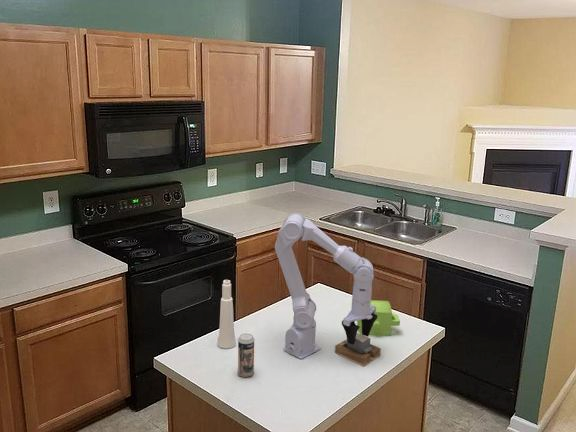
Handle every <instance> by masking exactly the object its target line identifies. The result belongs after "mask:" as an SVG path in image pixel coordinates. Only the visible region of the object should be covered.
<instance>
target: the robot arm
mask: <svg viewBox="0 0 576 432" xmlns="http://www.w3.org/2000/svg"><path fill="white" fill-rule="evenodd" d="M301 237H302V238H301ZM300 238H301V241H302V242H305V241H312V242H314V243H315V244H317V245H318V246H320V247H321V248H323V250H325V251H327V252H328V253H329V254H331V255H332V256H333V262H335V263H337V264H338V265H340V267H342V268H343V269H344V270H346V271H347V272H348V273H350V274H352V275H353V279H354V282H353V285H352V296H351V297H352V298H351V310H350V312H348V314H347V315H346V316H345V317H344V318H343V320H341V326H342V327H343V329H344V332H345V335H346V339H347V341H348V343H350V344H352V345H353V344H354V343H355V339H356V334H357V333H358V332H359V330H358V329H359V327H360V326H357V324H356V322H357V320H361V321H362V335H364V336H366V337H368V338H369V336H370V335H369V334H370V331H371V328H372V326H373V324H374V322H375V320H376V319H377V315H376V314H374V313H375V312H376V306H373V305H370V304H371V300H372V292H373V291H372V290H373V286H372V284H373V280H374V279H375V275H374V267H373V264H372V262H370V260H369V259H367V258H365V257H363V256H362V257H361V256H360V255H358V254H357V253H356V252H354V250H353V249H354V248H353V247H352V246H347V245H339V243H337V242H335V241H334V240H333V239H332V238H331V237H329V236H328V235H327V234H326V233H325V232H324V231H323V230H321V229H320V228H319V227H318V226H317V225H316V224H315V223H314V222H312V221H311V220H310V219H309V218H305V217H304V215H303V214H301V213H299V212H293V213H290V214H289V215H287V217H286V218H285V220H284V221H283V223H282V225H281V226H280V228H279V230H278V234H277V238H276V240H275V244H274V251H275V253H276V256H277V259H278V262H279V265H280V268H281V271H282V274H283V277H284V279H285V282H286V286H287V288H288V291H289V293H290V294H289V295H290V297H291V302H292V303H291V304H292V311H293V318H292V319H293V323H292V325H291V327H290V328H288V329H287V330H286V332H285V345H284V347H283V351H284V352H286V353H288V354H290V355H292V356H294V357H296V358H297V359H300V360H302V359H304V358H306V357H308V356H311V355H312V354H313V353H316V352H317V351H320V350H321V346H318V345H316V331H317V321H316V319H315V314H316V311H317V304H316V303H315V302H314V300H313V299H312V298H311V296H310V294H309V293H308V291H307V290H306V286H305V283H304V281H303V277H302V274H301V272H300V269H299V268H300V267H299V265H298V262H297V259H296V257H295V256H296V255H295V253H294V251H293V246H294V244H295V242H297V241H299V239H300Z"/></svg>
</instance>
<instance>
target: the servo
mask: <svg viewBox="0 0 576 432" xmlns="http://www.w3.org/2000/svg"><path fill="white" fill-rule="evenodd" d="M345 340H346V339H345ZM345 340H344V341H345ZM345 344H347V348H348V349H350V350H353V351H355V352H357V353H359V354H361V355H364V354H365V353H368V354H369V351H371V350H372V347H370V344H371V338H370V337H369V336H368V337H367V336H365V335H361V334H360V333H359V332H357V334H356V339H355V343H354V344H353V345H352V344H350V343H348V341H347V340H346V341H345Z"/></svg>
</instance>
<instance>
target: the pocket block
mask: <svg viewBox="0 0 576 432" xmlns="http://www.w3.org/2000/svg"><path fill="white" fill-rule="evenodd" d="M346 340H347V338H346V339H344V340H343V341H341V342H339V343H336V344H335V346H334V347H335V348H334V353H335V354H336V355H338V356H341V357H343V358H345V359H347V360H349V361H351V362H353V363H354V364H357V365H358V366H362V367H364V366H366V365H368V364H369V363H371V362H372V361H374V360H376V359H377V358H379V357H381V351H382V350H381V348H380V347H378V346H376V345H374V344H372V343H370V347H372V350H371V351H369V354H368V353H365V354H364V355H361V354H359V353H357V352H355V351H353V350H350V349H348V348H347V344H345V341H346Z"/></svg>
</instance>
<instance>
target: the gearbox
mask: <svg viewBox="0 0 576 432" xmlns="http://www.w3.org/2000/svg"><path fill="white" fill-rule="evenodd" d="M370 305H373V306H376V312H375V313H374V314H376V315H377V319H376V320H375V322H374V324H373V326H372V328H371V331H370V334H369V336H377V337H378V336H379V337H381V336H383V337H384V336H385V337H386V336H391V333H392V327H396V326H400V325H401V319H400V316H399V314H395V313H393V310H392V306H391V304H390V301H389V300H372V299H371V304H370ZM356 325H357V326H360V327H359V329H358V333H359V334H361V335H362V321H361V320H357V321H356Z"/></svg>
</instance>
